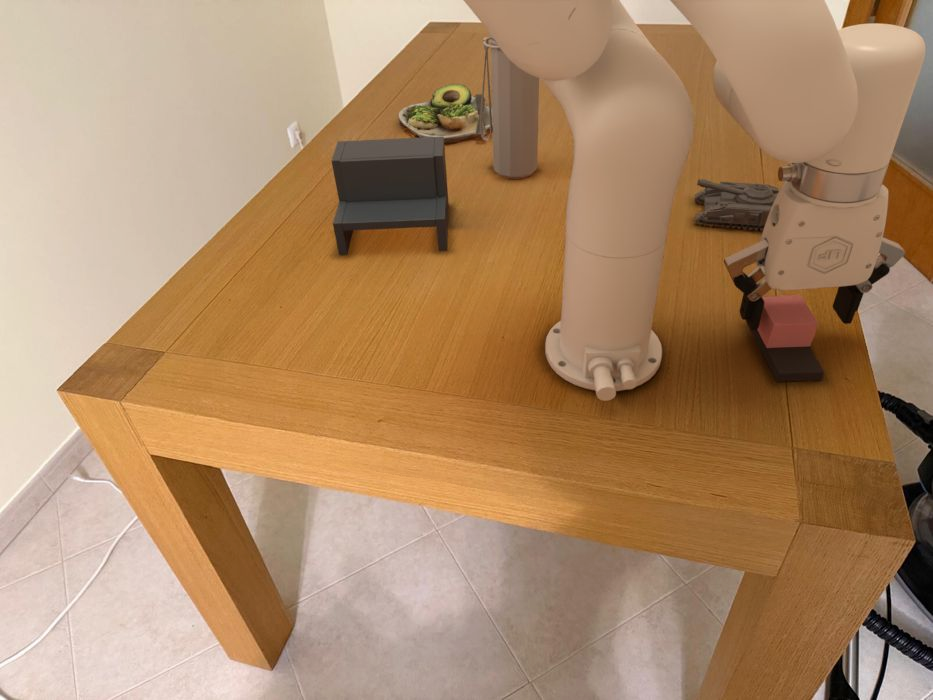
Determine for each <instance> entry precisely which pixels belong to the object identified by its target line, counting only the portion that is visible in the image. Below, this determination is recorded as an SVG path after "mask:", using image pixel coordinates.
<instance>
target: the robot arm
mask: <svg viewBox="0 0 933 700" xmlns="http://www.w3.org/2000/svg"><path fill="white" fill-rule="evenodd" d="M669 1H670V2H671V3H672V5H674V7H675V8H676V9H677V10H678V11H679V12H680V14H682V15H683V17H684V18H685V19H686V20H687V21H688V22H689V23H690V25H691V26H692V27H693V29H694V30H695V31H696V32H697V34H698V35H699V36H700V38H701V39H702V40H703V42H704V43H705V44H706V46H707V48H708V49H709V50H710V52H711V54H712V55H713V57H714V58H715V60H716V62H715V65H714V67H713V72H712V86H713V90H714V93H715V96H716V98H717V100H718V101H719V103H720V105H721V106H722V107H723V108H724V109H725V111H726V112H727V113H728V114H729V115H730V117H731V118H732V119H733V120H734V121H735V123H737V124H738V125H739V126H740V127H741V128H742V129H743V131H745V133H746V134H747V135H748V136H749V137H750V139H752V141H753V142H754V143H755V145H756V146H757V147H758V148H759V149H760V150H761V151H762V152H763V153H764V154H765V155H767V156H768V157H770V158H772V159H774V160H776V161H779V162H783V163H789V164H787V165H783V166H779V168H778V170H777V179H778V181H779V182H783V183H782V185H781V187H780V189H778V191H779V192H778V194H777V197H776V199H775V201H774V203H773V205H772V208H771V210H770V213H769V215H768V218H767V221H766V224H765V227H764V230H763V231H762V233H761V237H760V241H758V242H756V243H753V244H752V245H750V246H747V247H745V248H743V249H741V250H739V251H736V252H735V253H733V254H730V255H728V256H726V257H725V258H724V259H723V264H724V266H725V268H726V271H727V272H728V274H729V276H730V278H731V280H732V283H733V284H734V286H735V287H736V288H737V289H738V290H739V291H740V292H741V293H742V299H741V302H740V308H739V315H740V318H741V320H743V321H745V322H746V324H747V326H748V329H749V330H750V331H751V332H752V331H754V330H757V329H758V328H759V324H760V320H761V316H762V312H763V308H764V300H763V298H762V296H766V294H768V292H770V291H771V290H775V291H783V292H784V291H801V290H814V289H815V290H816V289H828V288H829V289H830V288H837V292H836V295H835V297H834V301H833V304H832V309H833V310H834V312H835V314H836V315H837V317H838V318H839V319H840V321H841V322H842V323H843V324H845V325H849V324H850V325H851V324H852V322H853V320H854V317H855V314H856V312H857V311H858V310H859V308H860V305H861V303H862V299H863V297H864V294H866V293H869V292H870V291H871V290H872V289H873V285H874V284H876V283H877V282H878V281H880V280H881V279H883V278H884V277H886V276H887V275H889V273H890V271H891V269H890V268H892V267H894V266H895V265H896V264H897V263H899V261H900V260H901V259H902V258H903V257H904V256H905V255H906V249H904V248H903V247H902V246H901V244H899V243H898V242H895V241H894V240H891V239H888V238H886V237H884V233H885V228H886V222H887V216H888V208H889V193H890V192H889V189H888V188H887V187H886V185H884V184H883V183H884V179H885V176H886V174H887V171H888V167H889V165H890V161H891V158H892V155H893V152H894V149H895V147H896V144H897V140H898V138H899V135H900V133H901V129H902V126H903V123H904V120H905V117H906V114H907V111H908V108H909V105H910V102H911V99H912V96H913V94H914V91H915V88H916V84H917V82H918V79H919V77H920V73H921V71H922V67H923V64H924V60H925V57H926V43H925V41H924V39H923V37H922V36H921V35H920V34H919V33H918V32H916V31H914V30H913V29H910V28H908V27H904V26H901V25H896V24H889V23H879V22H878V23H877V22H876V23H872V22H871V23H861V24H854V25H850V26H845V27H842V28H840V29H838V27H837V25H836V21H835V19H834V16H833V15H832V13H831V11H830V9H829V6H828V5H827V3H826V0H669ZM463 2H464V3H465V5H466V6H467V7H468V8H469V9H470V11H472V12H473V14H474V15H475V16H476V18H477V19H478V20H479V21H480V22H481V23H482V25H483V26H484V27H485V29H486V30H487V31H488V33H489V32H490V34H491V35H492V36H493V38H494V39H495V41H496V42H497V44H498V45H499V47H500V48H501V50H502V51H503V52H504V54H505V55H506V56H507V57H508V59H509V60H511V61H512V62H513V63H514V64H515V65H516V66H517V67H518V68H520V69H521V70H523V71H525V72H526V73H528V74H530V75H532V76H535V77H538V78H539V80H540V81H541V82H542V83H543V84H544V85H545V87H546V88H547V89H548V90H549V92H551V94H552V95H553V96H554V98H555V99H556V100H557V101H558V103H559V104H560V106H561V107H562V109H563V111H564V113H565V116H566V119H567V123H568V126H569V128H570V130H571V132H572V138H573V163H572V171H571V175H570V181H569V186H568V192H567V203H566V214H565V241H564V242H565V243H564V258H563V259H564V260H563V276H562V277H563V278H562V294H561V311H560V312H561V313H560V320H559V321H557V323H555V324H554V325H553V326H552V327H551V328H550V330H549V332H548V333H547V336H546V338H545V343H544V344H545V345H544V346H545V348H544V349H545V352H544V354H545V357H546V361H547V363H548V365H549V366H550V368H551V369H552V370H553V371H554V373H556V374H557V375H558V376H559V377H561V378H562V379H563V380H565V381H566V382H568V383H570V384H572V385H574V386H577V387H580V388H583V389H586V390H591V391H595V396H596V397H597V399H598V400H600V401H602V402H604V401H605V402H608V401H612V400H613V399H614V398H615V397H616V395H617V392H621V391H626V390H630V391H631V390H633V389H635V388H636V387H639V386H642V385H643V384H644V383H646V382H648V381H650V380H651V379H652V377H654V376H655V375H656V373H657V371H658V370H659V368H660V366H661V363H662V359H663V358H662V357H663V346H662V342H661V341H660V338H659V337H658V335H657V334H656V333H655V332H654V330H653V329H652V328H653V320H654V315H655V310H656V304H657V298H658V292H659V286H660V280H661V274H662V269H663V262H664V257H665V251H666V245H667V241H668V240H667V238H668V231H669V226H670V221H671V215H672V211H673V205H674V200H675V196H676V193H677V188H678V185H679V181H680V179H681V177H682V176H681V175H682V173H683V171H684V169H685V168H684V167H685V166H686V163H687V159H688V156H689V154H690V150H691V147H692V144H693V138H694V131H695V116H694V108H693V104H692V101H691V98H690V95H689V92H688V90H687V88H686V86H685V84H684V83H683V81H682V80H681V78H680V76H679V75H678V74H677V73H676V71H675V70H674V68H672V66H671V65H670V64H669V63H668V61H666V59H665V58H664V57H663V56H662V55H661V54H660V53H659V52H658V51H657V49H655V47H654V45H652V43H651V42H650V41H649V39H648V38H647V37H646V36H645V34H644V33H643V32H642V30H641V29H640V28H639V26H638V25H637V23H636V22H635V20H634V19H633V18H632V16H631V15H630V13H629V12H628V10H627V9H626V8H625V6H624V5H623V3H622V2H621V1H620V0H463ZM755 263H756V265H757V266H755V267H754V268H753V269H752V270H751V271H750V272H749V273H748V274H746V273H745V272H744V269H745V268H746V267H749V266H751V265H752V264H755ZM758 282H759V283H758Z"/></svg>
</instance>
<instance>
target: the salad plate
mask: <svg viewBox="0 0 933 700" xmlns="http://www.w3.org/2000/svg"><path fill="white" fill-rule="evenodd" d="M431 97H432V98H431V99H430V100H429V101H424V102H420V103H414V104H410V105H407V106H404V107H403V108H402V109H400V111H399V112H398V115H397V117H398V121H399V123H400V125H401V126H402V127H403V128H405V129H407V130H409V132H411V133H412V134H414V135H416V136H418V137H419V138H423V137H444V144H453V143H458V142H463V141H465V140H468V139H472V138H473V139H474V138H477V137H482V136H481V132H480V113H481V100H482V94H481V93H480V94H479V93H476V94H475V95H474V96H472V93H471V90H470V88H469V87H467V86H466V85H464V84H461V83H450V84H446V85H444V86H442V87H439V88H437V89H436V90H435V91H434V92H433V93H432V95H431ZM485 102H486V98H485V97H484V98H483V112H482V129H483V134H484V136H486V135H487V130H490V121H489V105H486V103H485ZM491 115H492V108H491ZM492 127H493V123H492Z"/></svg>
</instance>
